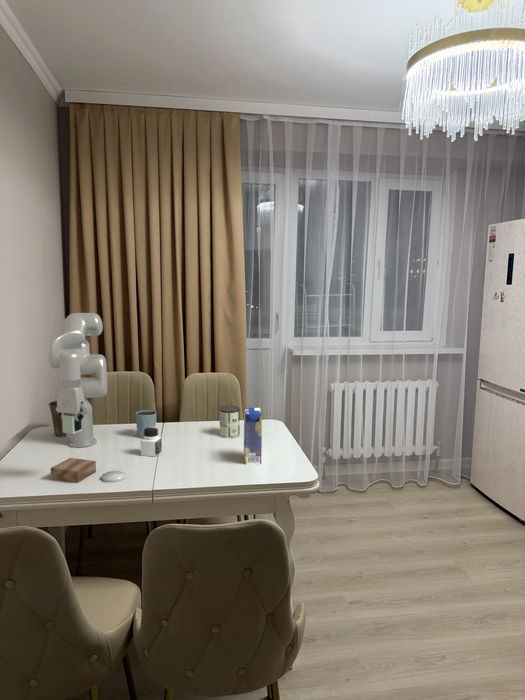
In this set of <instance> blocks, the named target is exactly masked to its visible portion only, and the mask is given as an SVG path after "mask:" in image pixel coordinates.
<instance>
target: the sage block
mask: <svg viewBox="0 0 525 700" xmlns="http://www.w3.org/2000/svg"><path fill="white" fill-rule="evenodd" d="M78 416H79V415H78ZM75 421H76V419H75V416H74V414H68V413H67V414H64V415H62V426H63V433H70V434H74V433H77V432H79V431H82V429H80V430H78V431H75ZM81 425H82V421H81Z"/></svg>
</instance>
